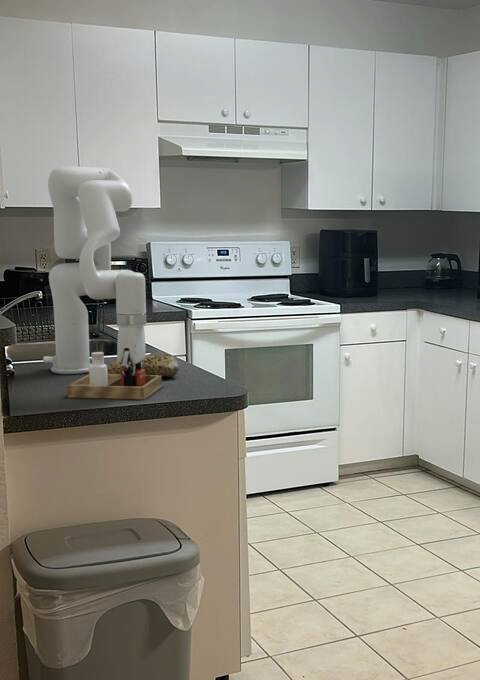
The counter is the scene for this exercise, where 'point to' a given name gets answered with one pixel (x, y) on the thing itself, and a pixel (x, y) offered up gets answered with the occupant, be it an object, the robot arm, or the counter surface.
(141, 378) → the clay block
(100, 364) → the salt shaker
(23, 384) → the counter surface
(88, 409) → the counter surface
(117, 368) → the sponge
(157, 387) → the tray
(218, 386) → the counter surface
